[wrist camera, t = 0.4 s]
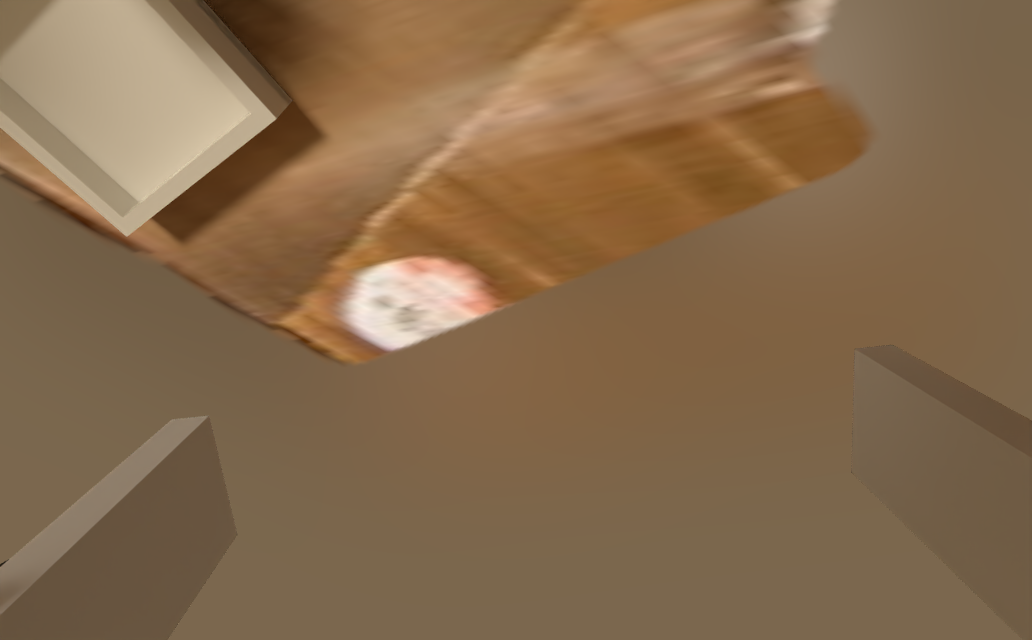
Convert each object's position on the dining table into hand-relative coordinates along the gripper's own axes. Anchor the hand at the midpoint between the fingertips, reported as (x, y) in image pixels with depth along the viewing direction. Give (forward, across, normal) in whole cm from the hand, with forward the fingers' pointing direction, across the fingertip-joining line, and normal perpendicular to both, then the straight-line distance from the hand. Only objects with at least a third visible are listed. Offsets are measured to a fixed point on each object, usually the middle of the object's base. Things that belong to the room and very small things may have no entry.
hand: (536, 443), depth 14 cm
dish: (+30, -22, +12) cm, 39 cm away
